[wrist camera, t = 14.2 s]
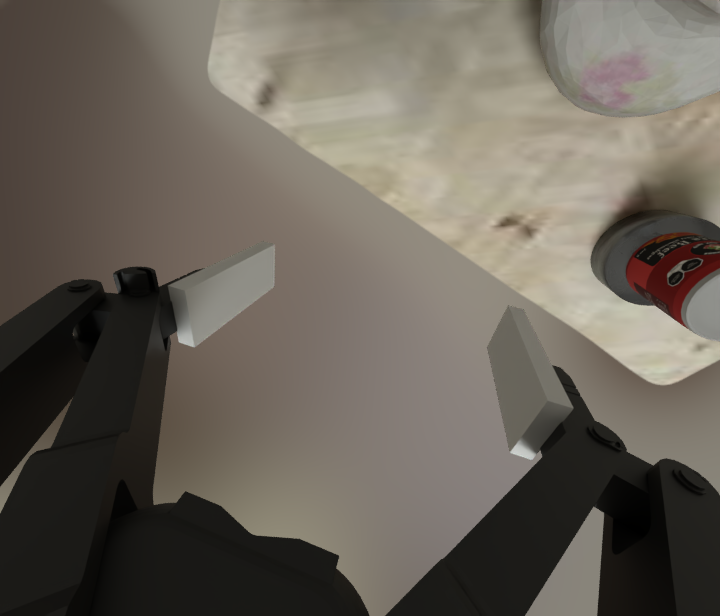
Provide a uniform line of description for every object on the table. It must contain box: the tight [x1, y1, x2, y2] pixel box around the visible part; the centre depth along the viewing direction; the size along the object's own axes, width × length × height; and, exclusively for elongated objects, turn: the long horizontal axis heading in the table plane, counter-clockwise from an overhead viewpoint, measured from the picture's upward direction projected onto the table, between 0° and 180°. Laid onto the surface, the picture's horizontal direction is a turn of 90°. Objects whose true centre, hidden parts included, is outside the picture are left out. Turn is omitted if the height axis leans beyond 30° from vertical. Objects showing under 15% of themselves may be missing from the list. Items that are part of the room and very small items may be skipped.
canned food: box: [626, 232, 720, 341], centre depth 29 cm, size 8×8×11 cm
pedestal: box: [591, 210, 720, 306], centre depth 36 cm, size 11×11×5 cm
